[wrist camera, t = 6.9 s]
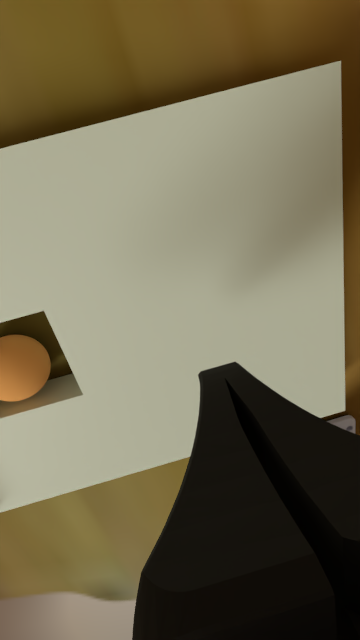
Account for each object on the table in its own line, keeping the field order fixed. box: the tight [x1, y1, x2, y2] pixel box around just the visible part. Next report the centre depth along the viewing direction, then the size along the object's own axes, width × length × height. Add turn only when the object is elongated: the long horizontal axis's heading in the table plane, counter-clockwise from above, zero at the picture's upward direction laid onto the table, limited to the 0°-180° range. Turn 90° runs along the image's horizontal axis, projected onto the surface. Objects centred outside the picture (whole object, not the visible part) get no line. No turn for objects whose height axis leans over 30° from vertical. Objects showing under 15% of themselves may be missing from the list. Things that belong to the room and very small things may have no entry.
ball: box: [0, 335, 51, 401], centre depth 17 cm, size 3×3×3 cm
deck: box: [0, 61, 345, 512], centre depth 16 cm, size 18×24×4 cm
